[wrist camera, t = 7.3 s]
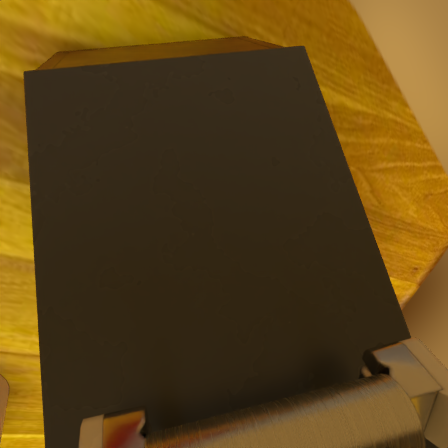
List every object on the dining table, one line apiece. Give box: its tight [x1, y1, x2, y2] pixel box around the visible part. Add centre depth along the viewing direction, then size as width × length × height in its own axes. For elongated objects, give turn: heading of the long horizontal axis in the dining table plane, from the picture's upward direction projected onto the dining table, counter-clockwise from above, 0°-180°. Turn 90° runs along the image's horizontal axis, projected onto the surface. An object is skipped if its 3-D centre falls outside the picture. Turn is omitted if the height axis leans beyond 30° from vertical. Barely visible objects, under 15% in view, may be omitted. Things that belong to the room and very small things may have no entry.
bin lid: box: [24, 46, 438, 448], centre depth 13 cm, size 17×13×5 cm
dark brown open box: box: [36, 36, 284, 70], centre depth 26 cm, size 17×13×9 cm
